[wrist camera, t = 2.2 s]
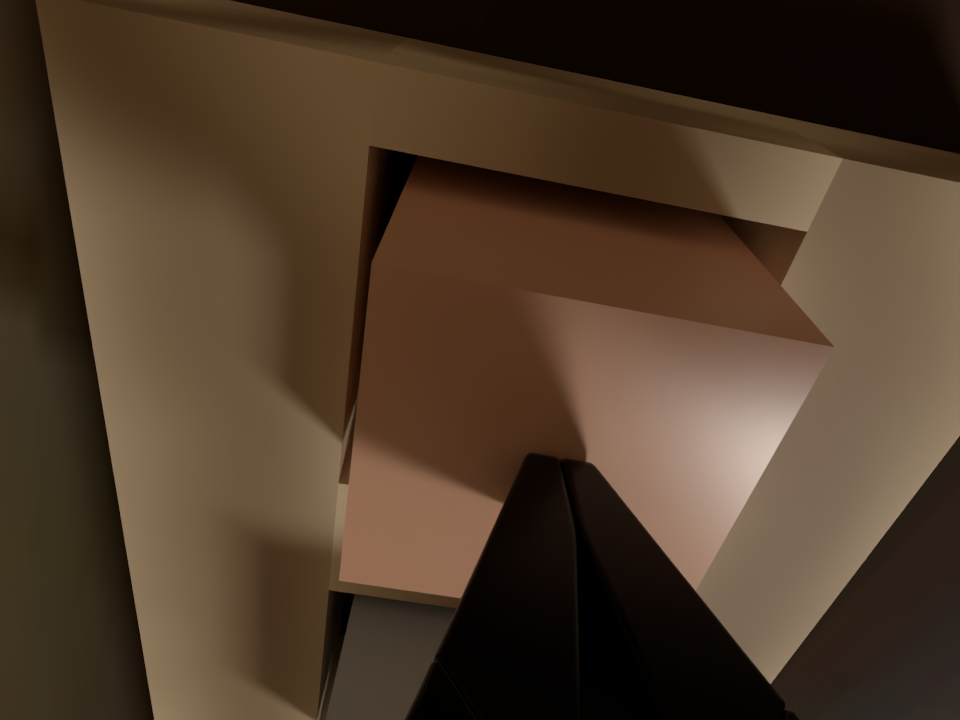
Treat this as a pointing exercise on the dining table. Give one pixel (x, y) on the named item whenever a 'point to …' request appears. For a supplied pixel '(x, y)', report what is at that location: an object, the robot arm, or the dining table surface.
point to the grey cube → (385, 657)
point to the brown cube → (561, 368)
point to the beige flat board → (344, 295)
